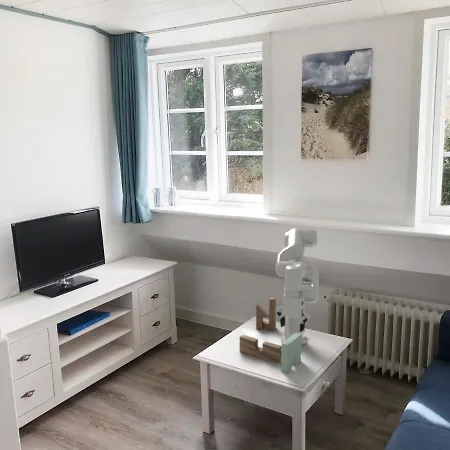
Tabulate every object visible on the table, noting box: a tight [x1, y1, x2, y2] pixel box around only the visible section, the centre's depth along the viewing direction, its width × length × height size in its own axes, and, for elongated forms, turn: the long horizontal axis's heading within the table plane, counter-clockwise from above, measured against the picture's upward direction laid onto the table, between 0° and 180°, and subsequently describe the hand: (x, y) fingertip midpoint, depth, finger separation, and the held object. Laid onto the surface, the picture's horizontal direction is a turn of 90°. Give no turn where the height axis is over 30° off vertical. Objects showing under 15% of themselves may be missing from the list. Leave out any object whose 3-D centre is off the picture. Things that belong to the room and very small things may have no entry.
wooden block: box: [255, 296, 277, 331], centre depth 262 cm, size 4×11×18 cm, turn 80°
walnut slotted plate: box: [239, 334, 282, 365], centre depth 232 cm, size 3×22×8 cm, turn 55°
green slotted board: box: [280, 333, 302, 374], centre depth 221 cm, size 14×3×14 cm, turn 145°
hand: (292, 328), depth 218 cm, fingers open, 9 cm apart
